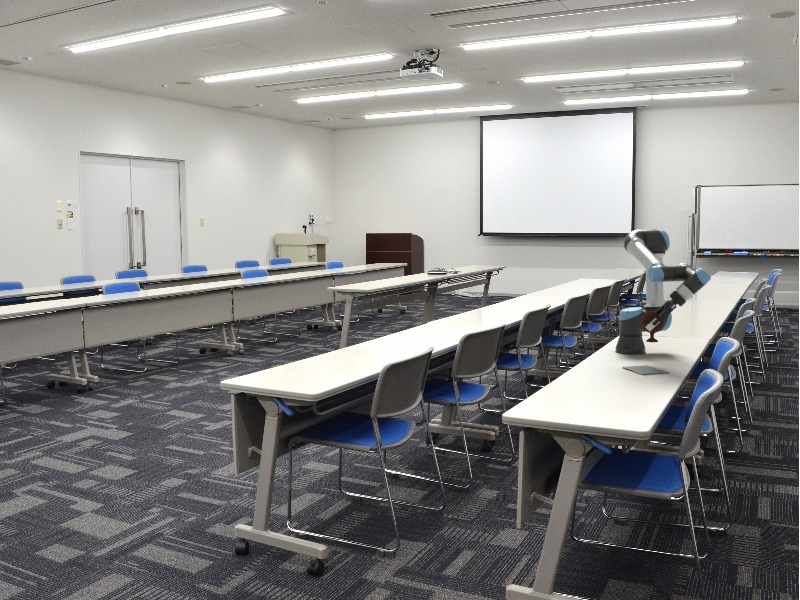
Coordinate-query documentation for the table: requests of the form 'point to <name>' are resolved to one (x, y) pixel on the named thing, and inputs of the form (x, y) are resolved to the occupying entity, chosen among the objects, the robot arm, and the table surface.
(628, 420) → the table surface
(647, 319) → the ice cream bowl
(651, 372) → the rubber sheet
